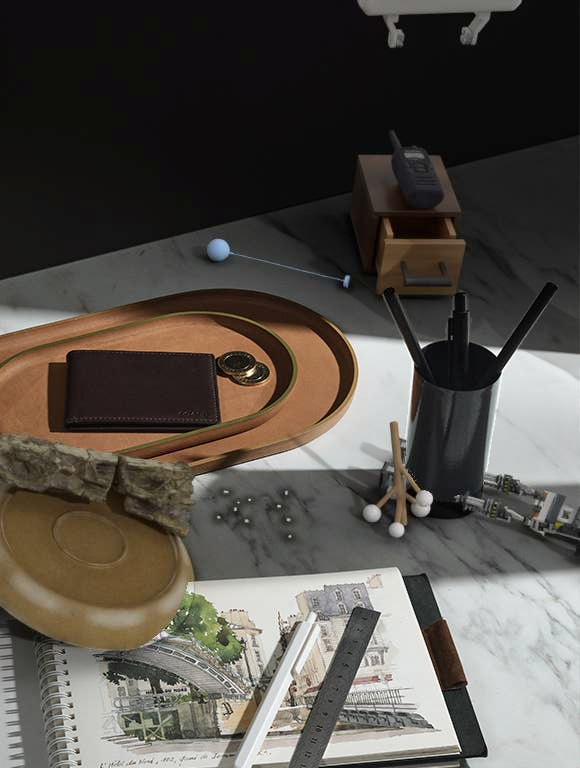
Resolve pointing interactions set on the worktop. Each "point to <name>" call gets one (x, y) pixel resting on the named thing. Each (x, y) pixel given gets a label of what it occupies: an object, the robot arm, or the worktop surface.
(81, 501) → the plant saucer
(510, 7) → the robot arm
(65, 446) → the fossil
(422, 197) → the two-way radio
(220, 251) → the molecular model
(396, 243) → the drawer
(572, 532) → the toy
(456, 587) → the worktop surface
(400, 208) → the cabinet
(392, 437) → the cotton branch
